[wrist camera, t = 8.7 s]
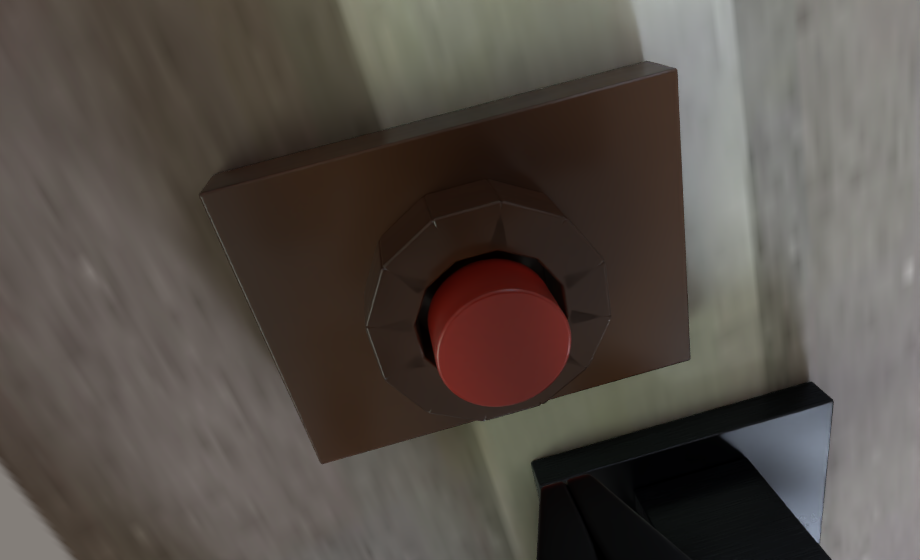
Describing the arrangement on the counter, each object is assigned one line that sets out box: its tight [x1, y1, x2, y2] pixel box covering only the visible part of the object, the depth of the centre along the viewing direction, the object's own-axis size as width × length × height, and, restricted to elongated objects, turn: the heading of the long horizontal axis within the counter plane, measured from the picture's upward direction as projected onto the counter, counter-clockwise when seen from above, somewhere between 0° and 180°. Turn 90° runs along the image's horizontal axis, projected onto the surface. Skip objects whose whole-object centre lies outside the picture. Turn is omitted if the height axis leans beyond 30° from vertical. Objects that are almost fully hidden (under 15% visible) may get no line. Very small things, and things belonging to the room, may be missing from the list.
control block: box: [199, 61, 690, 464], centre depth 16 cm, size 12×9×4 cm
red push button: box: [428, 259, 571, 407], centre depth 14 cm, size 3×3×2 cm
